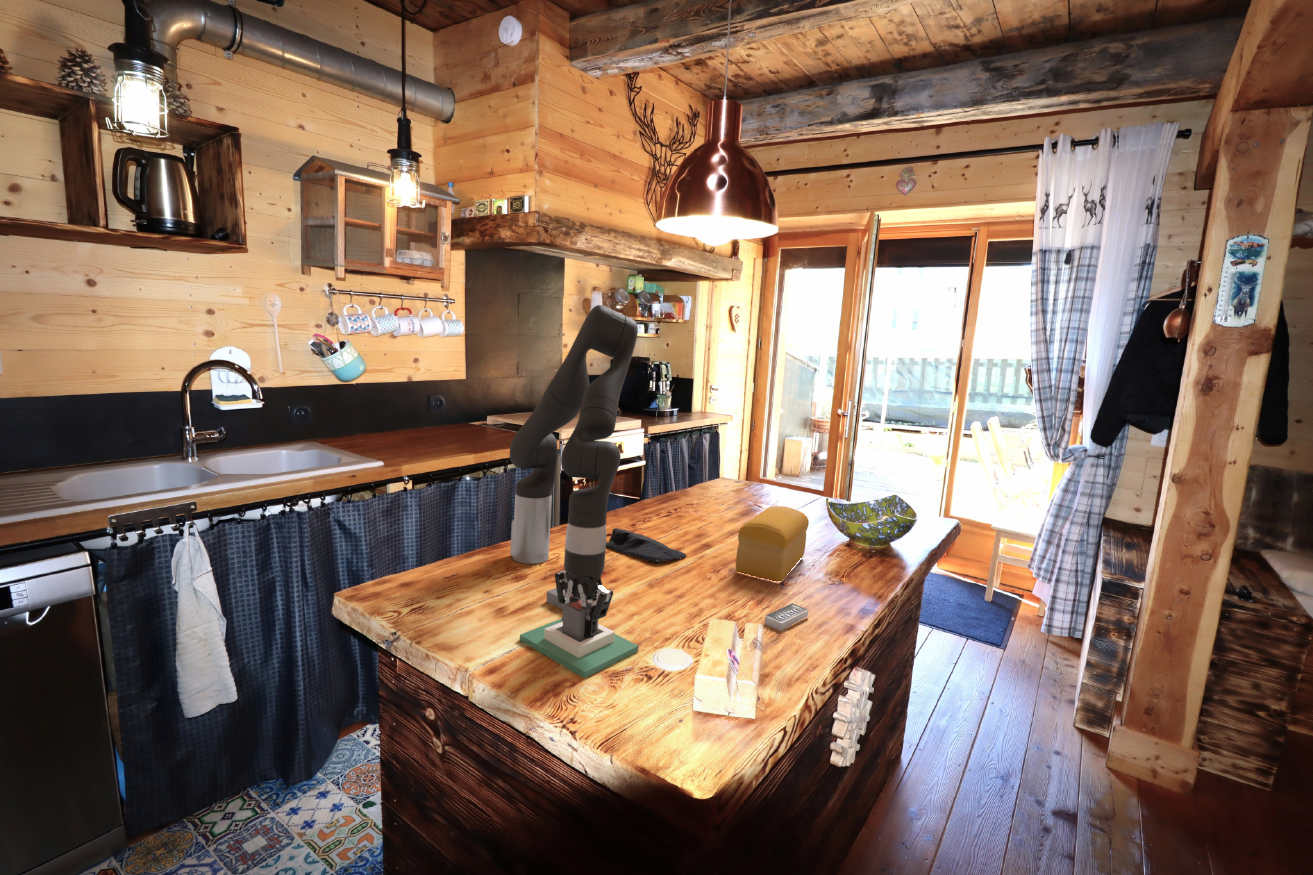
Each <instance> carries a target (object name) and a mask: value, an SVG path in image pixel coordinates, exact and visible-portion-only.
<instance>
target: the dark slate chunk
mask: <svg viewBox="0 0 1313 875" xmlns="http://www.w3.org/2000/svg"><path fill="white" fill-rule="evenodd" d="M607 547H608V548H609V549H612V550H613V551H616V552H618V553H621V554H623V555H629V554H630V555H629V556H632V557H634V556H635V557H634V558H637V559H641V560H643V559H644V561H646V560H647V561H646V562H649V561H653V562H652V563H654V564H657V563H658V564H659V563H663V562H668V561H675V560H681V559H680V558H683V559H685V558H686V557H687V556H686V555H687V554H686V553H684V552H683V551H681V550H677V549H673V548H671V547H669V546H667V545H665V544H664V543H662V542H660V541H657V540H656V539H653V538H652V537H649V536H646V535H643V534H641V533H636V532H633V531H630V530H626V529H621V528H617V527H616V528H613V529H612V530H611V535H610V538H609V541H606V548H607ZM685 556H686V557H685ZM684 557H685V558H684Z"/></svg>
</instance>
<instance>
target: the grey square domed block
mask: <svg viewBox="0 0 1313 875" xmlns="http://www.w3.org/2000/svg"><path fill="white" fill-rule="evenodd" d="M563 596H565V590H563ZM590 600H592V599H590ZM545 602H546V603H548V604H550V605H551V606H554V607H556V608H558V609H560V610H561V611H564V604H563V603H562V604H560V603H559V601H558V595H557V588H556V587H555V588H553V589H549V590H547V591H546V601H545Z"/></svg>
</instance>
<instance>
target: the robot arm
mask: <svg viewBox="0 0 1313 875" xmlns="http://www.w3.org/2000/svg"><path fill="white" fill-rule="evenodd" d="M638 330H639V327H638V324H637V322H636V321H635V320H634V319H632V318H631V317H629V316H628V315H624V314H622V313H620V312H618V311H616V310H614V309H611V308H610V307H608V306H605V305H600V304H597V305H596V306H594V307H593V308H592V309H591V310H590V311H589V313H588V314H587V315H586V317H585V320H584V321H583V323H582V324H581V327H580V329H579V331H578V333H577V335H576V337H575V339H574V341H573V342H572V345H571V347H570V349H569V351H568V353H567V355H566V357H565V358H564V360H563V362H562V363H561V365H560V366H559V368H558V370H557V372H555V374H554V376H553V378H551V380H550V382H549V384H548V386H547V387H546V389H545V390H544V393H543V394H542V396H541V398H540V400H539V401H538V402H537V405H536V406H535V408H534V410H533V411H532V412H531V414H530V415H529V417H528V418H527V420H526V421H525V422H524V423H523V424H522V426H521V427H520V428H519V429H518V430H517V432H516V433H515V435H514V436H513V438H512V440H511V443H510V446H509V460H510V462H511V463H512V465H513V466H514V467H516V468H518V469H522V470H529V469H530V470H531V469H533V470H532V471H531V472H530V473H529V474H528V475H527V476H525V477H523V478H522V479H519V480H518V481H517V482H516V484H515V492H514V493H515V494H514V495H515V496H514V516H513V517H514V519H512V521H511V531H510V532H511V534H510V536H511V537H510V554H509V555H510V556H511V557H512V559H513V560H514V561H515V562H516V563H520V564H527V565H528V564H530V565H531V564H532V565H533V564H534V565H535V564H540V563H542V564H543V563H545V562H546V561H548V559H549V557H550V556H549V554H550V553H549V552H550V538H551V536H550V535H551V520H552V517H551V516H552V500H553V496H552V495H553V489H554V485H555V481H556V472H557V465H558V464H557V463H558V454H559V451H558V450H559V449H558V441H557V439H556V436H555V435H554V434H553V433H554V432H555V431H557V430H559V429H561V428H562V427H564V426H565V425H567V424H568V423H571V421H572V420H574V419H575V418H576V417H577V416H578V414H579V416H578V420H577V423H576V425H575V427H574V429H573V431H572V433H571V435H570V436H569V438H568V439H567V441H566V443H565V445H564V447H563V450H562V452H561V457H560V463H561V465H560V466H561V468H562V470H563V473H565V475H567V476H568V477H571V478H575V479H576V478H578V479H579V478H580V479H589V480H598V483H597V484H596V485H595V486H592V487H588V488H587V487H586V488H581V489H580V488H579V489H577V490H574V491H572V492H571V494H570V495H569V498H568V499H569V501H568V515H567V518H568V519H567V527H566V530H565V531H566V532H565V542H564V543H565V544H564V560H563V562H564V563H563V568H564V570H560V571H558V572H555V573H554V580H555V581H554V582H555V588H557V595H558V601H559V603H560V604H562V603H563V604H566V603H568V602H572V601H574V600H578V599H581V604H582V607H583V608H584V610H585V618H586V619H585V630H584V637H586V638H590V637H592V636H594V634H595V633H596V626H597V620H598V621H599V620H600V619H602V618H604V617H607V613H608V611H609V608H610V605H611V601H612V598H613V596H614V591H613V589H606V588H605V587H604V586H603V581H602V573H603V572H604V570H605V564H606V563H605V562H606V549H607V547H606V543H607V513H608V512H607V511H608V502H609V496H610V493H611V489H612V486H613V483H614V481H615V477H616V476H617V473H618V470H619V468H620V467H619V466H620V463H621V458H622V457H621V452H620V449H619V447H618V446H617V444H615V443H614V442H612V441H607V440H603V439H607V438H609V437H611V436H612V435H613V434H614V433H615V432H614V431H615V428H616V422H617V417H618V408H619V404H620V403H619V401H620V397H621V393H622V389H623V385H624V383H625V380H626V377H627V374H628V371H629V367H630V363H631V360H632V358H633V353H634V351H635V347H636V343H637V340H638V335H639V334H638V332H639V331H638ZM590 350H593V351H595V352H598V353H600V354H603V355H605V356H607V357H609V358H612V359H613V361H612V364H611V365H610V366H609V368H608V369H606V371H604V372H602V374H600V375H599V376H598V377H596V378H595V379H594V380H593V381H592V382H591V383H590V379H589V378H590V377H589V373H588V368H587V367H588V366H587V354H588V351H590ZM563 590H565V596H563ZM590 599H592V600H591V601H589V602H588V601H587V600H590ZM591 606H592V607H593V612H591V609H590V608H591Z"/></svg>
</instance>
